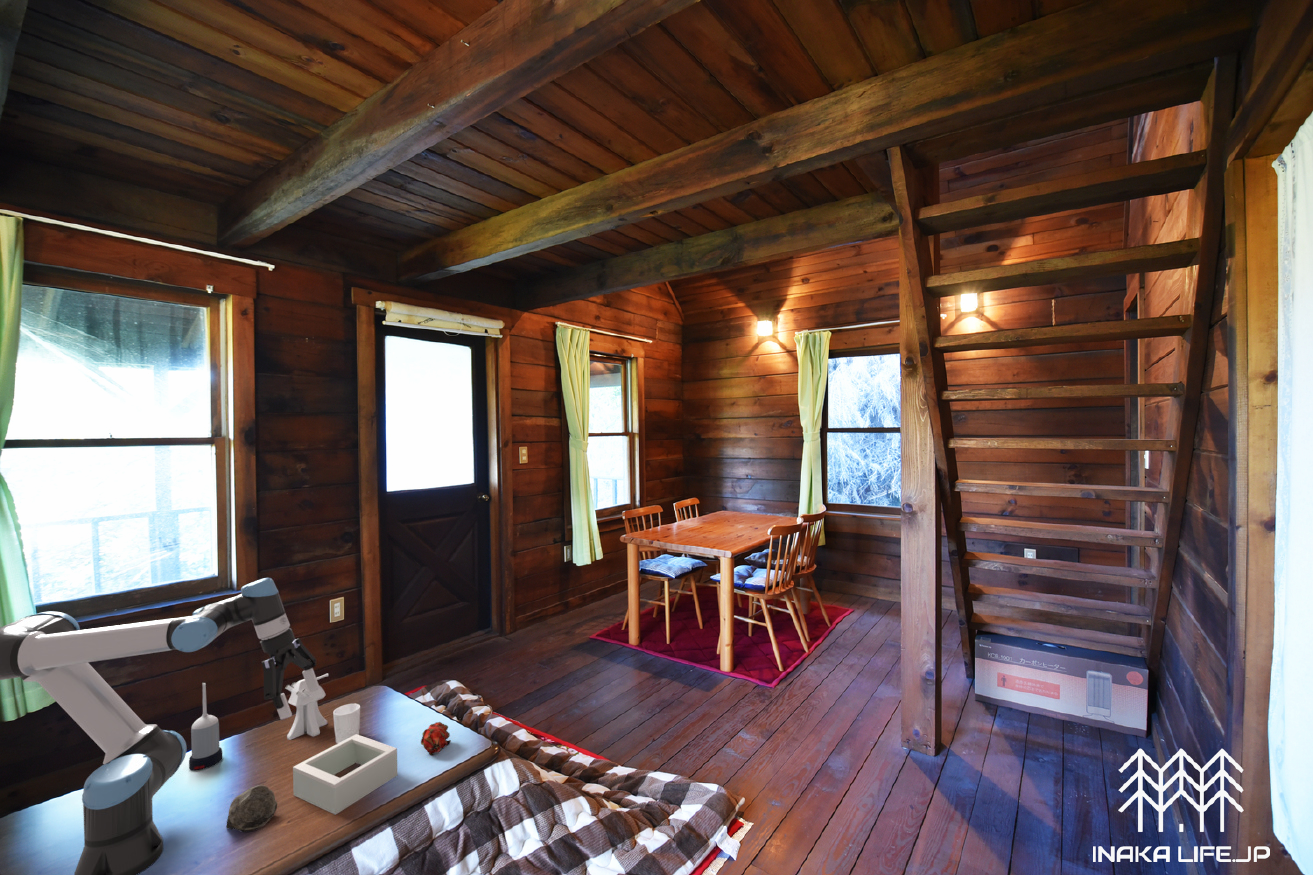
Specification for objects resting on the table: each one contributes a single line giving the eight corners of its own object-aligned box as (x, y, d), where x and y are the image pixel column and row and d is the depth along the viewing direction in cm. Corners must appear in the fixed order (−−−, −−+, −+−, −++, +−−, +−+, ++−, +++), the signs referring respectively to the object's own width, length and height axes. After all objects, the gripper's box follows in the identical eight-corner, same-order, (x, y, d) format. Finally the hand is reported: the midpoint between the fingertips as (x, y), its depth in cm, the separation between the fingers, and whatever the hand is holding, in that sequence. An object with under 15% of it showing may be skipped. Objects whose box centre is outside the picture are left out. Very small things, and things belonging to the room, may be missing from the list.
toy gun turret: (338, 725, 194) (336, 674, 194) (297, 743, 183) (295, 689, 183) (320, 717, 200) (319, 667, 200) (279, 734, 189) (278, 681, 189)
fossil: (250, 837, 138) (233, 801, 139) (224, 850, 140) (207, 814, 141) (287, 807, 149) (270, 773, 150) (263, 819, 151) (246, 786, 151)
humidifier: (193, 773, 167) (191, 691, 167) (185, 764, 172) (183, 684, 172) (226, 760, 174) (224, 681, 174) (218, 752, 179) (216, 675, 179)
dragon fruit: (438, 743, 184) (438, 768, 173) (415, 734, 181) (414, 758, 169) (454, 721, 185) (455, 744, 173) (431, 711, 181) (431, 734, 170)
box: (335, 814, 147) (334, 784, 147) (293, 795, 156) (292, 766, 156) (397, 775, 164) (396, 748, 164) (356, 759, 173) (356, 733, 173)
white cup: (335, 736, 187) (334, 706, 187) (361, 730, 190) (360, 701, 190) (332, 747, 180) (331, 717, 180) (360, 741, 183) (359, 711, 183)
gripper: (259, 649, 140) (287, 725, 142) (313, 611, 165) (337, 676, 167) (230, 658, 140) (258, 734, 142) (289, 619, 165) (313, 684, 167)
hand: (301, 703), depth 155 cm, fingers open, 13 cm apart
